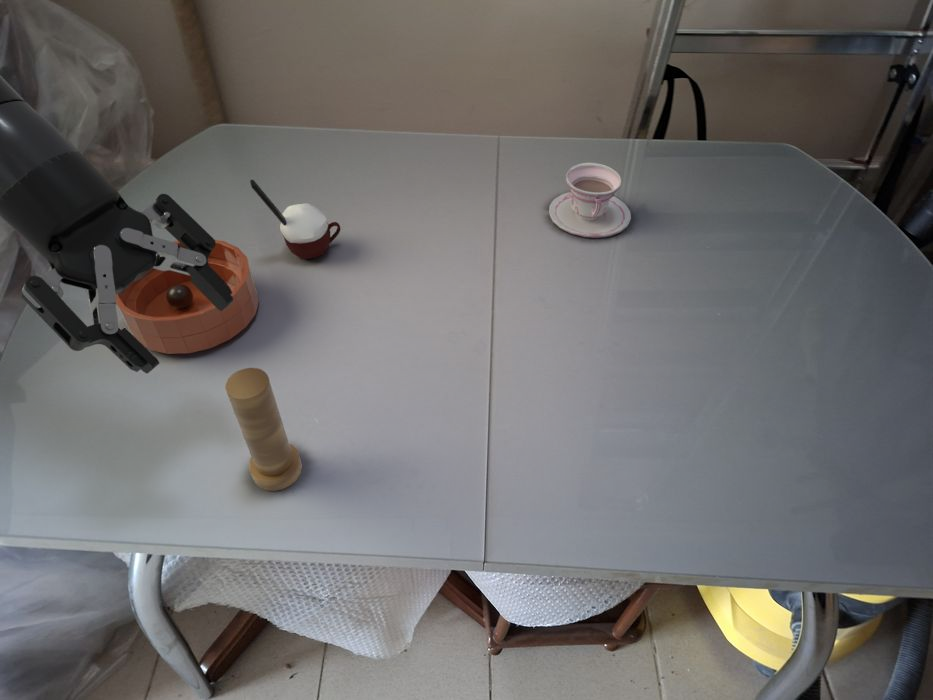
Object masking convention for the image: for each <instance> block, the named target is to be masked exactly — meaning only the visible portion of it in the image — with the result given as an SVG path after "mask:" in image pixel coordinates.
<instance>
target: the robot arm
mask: <svg viewBox="0 0 933 700" xmlns="http://www.w3.org/2000/svg"><path fill="white" fill-rule="evenodd" d="M0 218H1V219H2V220H4V222H6V224H7V225H8V226H10V227H11V228H12V229H13V230H14V231H15V232H16V233H17V234H18V236H20V237H21V238H22V239H23V240H24V241H25V242H26V243H27V244H28V245H29V246H30V247H31V248H32V249H33V250H34V251H36V252H37V254H38V255H40V256H41V257H42V258H44V259H45V260H46V261H47V262H48V264H49V265H50V268H51V269H50V270H48V271H46V272H45V273H43V274H41V275H40V276H38V275H31V276H28V277H27V278H26V279H25V282H24V284H23V287H22V289H21V292H20V297H21V298H22V300H24V301H25V303H26V304H27V305H28V306H29V307H30V308H31V309H32V310H33V311H34V312H35V313H36V314H37V315H38V316H39V317H40V318H41V320H43V321H44V322H45V323H46V325H47V326H48V327H49V328H50V329H51V330H52V331H53V332H54V333H55V334H56V335H57V336H58V337H59V338H60V339H61V340H62V341H63V342H64V343H65V345H67V347H68V348H69V349H71V350H72V351H74V352H81V351H83V350H84V349H86V348H89V347H92V346H95V345H102V346H104V347H106V348H107V349H108V350H110V352H111V353H113V354H114V356H115V357H117V358H118V359H119V360H120V361H121V362H122V363H123V364H124V365H126V367H127V368H128V369H129V370H131V371H134V372H135V373H138V372H139V371H140V370H141V371H142V372H143V373H144V374H149V373H151V371H153V370H154V369H155V368H156V367H158V365H160V361H159V360H158V358H157V357H156V356H155V354H153V353H152V352H151V351H150V350H149V349H148V348H146V347H144V346H143V345H142V344H141V343H140V342H139V341H138V340H137V339H136V338H135V337H134V336H133V335H132V334H131V333H130V331H129V329H128V328H126V327H123V328H122V329H121V328H120V327H119V320H118V313H117V305H116V294H118V295H120V294H121V293H122V292H124V291H125V290H126V289H127V288H128V287H129V285H130V284H131V283H132V282H134V281H137V280H139V279H142V278H143V277H144V276H146V275H147V274H148V273H149V272H150V271H151V270H152V268H154V269H157V270H161V271H167V270H171V271H175V272H178V273H182V274H186V275H190V276H192V277H193V278H192V279H191V280H190V281H191V282H192V283H193V284H194V285H195V286H196V287H197V288H198V289H199V290H200V292H201V293H202V294H203V295H204V296H205V297H206V298H207V299H208V300H209V301H210V302H211V303H212V304H213V305H214V306H215V307H216V308H217V309H218V310H220V311H223V310H224V309H225V308H226V307H227V306H229V305H230V304H231V303H232V302H233V301H234V300H233V297H232V296H231V294H232V291H231V289H230V287H229V286H228V285H227V284H226V283H225V282H224V281H223V279H221V277H220V276H219V275H218V274H217V273H216V272H215V271H214V270H213V269H212V268H211V267H210V266H209V264H208V257H209V255H210V253H211V251H212V249H213V248H214V247H215V245H216V242H215V240H216V239H215V238H213V237H212V235H211V234H210V233H208V232H207V230H206V229H204V228H203V227H202V225H200V224H199V223H198V222H197V221H196V220H195V219H194V218H193V217H192V216H191V215H190V214H189V213H188V212H187V211H186V210H185V209H184V208H182V207H181V205H180V204H178V203H177V201H175V199H173V198H172V197H171V196H170V195H169V194H166V193H161V194H158V196H157V197H156V198H155V200H154V201H153V203H152V204H150V205H149V206H147V207H146V208H145V209H144V210H142V211H139V210H136V209H134V208H132V207H131V206H129V204H128V203H127V202H126V201H125V199H124V198H123V197H122V195H121V194H120V193H119V191H117V189H116V188H115V187H114V186H113V185H112V184H111V183H110V182H109V181H108V179H106V178H105V177H104V176H103V175H102V174H101V173H100V171H98V169H96V168H95V166H94V165H93V164H92V163H91V162H90V161H89V160H88V159H87V158H86V156H84V155H83V154H82V153H81V152H80V151H79V150H78V149H77V148H76V147H75V146H74V144H72V142H70V141H69V139H67V137H66V136H64V134H63V133H62V132H61V131H60V130H59V129H58V128H57V127H56V126H54V125H53V123H51V122H50V121H49V120H48V119H47V118H46V117H45V116H43V115H42V114H40V113H39V112H38V111H37V110H35V109H34V108H33V107H32V106H31V105H30V104H29V103H28V102H27V101H26V100H25V99H24V98H23V97H22V96H21V95H20V94H19V92H17V90H16V89H14V88H13V87H12V85H11V84H10V83H9V82H8V81H6V79H4V77H3V76H2V75H1V74H0ZM152 225H153V226H156V227H157V228H158V229H161V230H162V229H163V230H166V231H167V232H168V233H169V234H170V235H171V236H172V237H173V238H175V240H176V241H179V242H180V243H181V244H182V245H183V246H184V247H185V248H186V249H185V248H182V247H180V246H179V245H178V244H177V243H174V241H170V240H167V239H163V238H160V237H157V236H154V235H153V230H152ZM61 283H62V284H64V285H67V286H71V287H76V288H80V289H84V290H86V296H87V305H88V311H89V315H90V316H91V322H92V323H91V325H88V326H87V325H86V324H85V322H84V321H83V320H82V319H81V318H80V317H79V316H78V315H77V313H75V312H74V311H73V309H72V308H71V307H70V306H69V305H68V304H67V303H66V302H65V301H64V300H63V299H62V298H63V296H64V289H63V288H62V287H61Z"/></svg>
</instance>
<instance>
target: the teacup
mask: <svg viewBox="0 0 933 700" xmlns="http://www.w3.org/2000/svg"><path fill="white" fill-rule="evenodd" d="M565 183H566V184H567V186H568V188H569V191H568V192H565V193H562V194H560V195H558V196H556V197H555V198H554V199H552V200H551V203H550V205H548V206H549V207H548V215H549V218H550V220H551V222H552V223H553V224H555V225H556V226H557V227H558V228H559V229H561V230H563V231H565V232H567V233H569V234H571V235H575V236H580V237H583V238H594V239H595V238H596V239H598V238H605V237H606V238H607V237H612V236H615V235H617V234H619V233H621V232H623V231H624V230H625V229H626V228H628V226H629V224H630V222H631V220H632V216H631V215H632V213H631V209H630V208H629V207H628V205H627V204H626V203H625V202H623V201H622V200H621V199H619V198H618V197H616V196H615V194H616V193H617V192H618V191H619V190H620V188H621V186H622V177H621V176H620V174H619V173H618V172H617V171H616V170H615V169H613V168H612V167H610V166H608V165H605V164H602V163H598V162H581V163H577V164H575V165H573V166H571V167H570V168H569V169H568V171H567V172H566V176H565Z"/></svg>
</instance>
